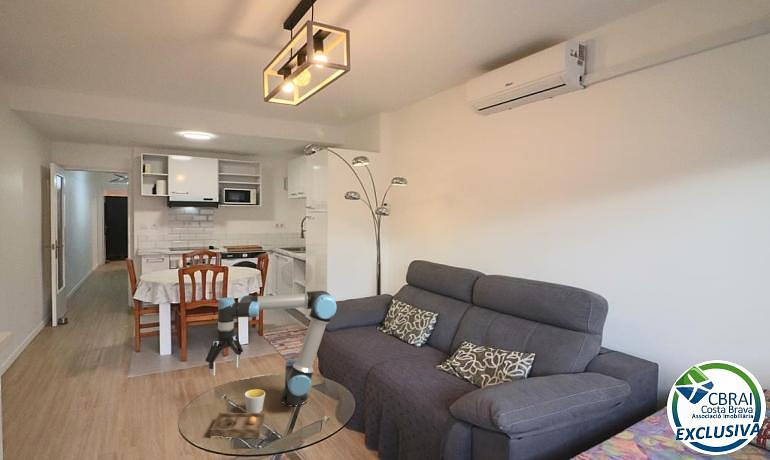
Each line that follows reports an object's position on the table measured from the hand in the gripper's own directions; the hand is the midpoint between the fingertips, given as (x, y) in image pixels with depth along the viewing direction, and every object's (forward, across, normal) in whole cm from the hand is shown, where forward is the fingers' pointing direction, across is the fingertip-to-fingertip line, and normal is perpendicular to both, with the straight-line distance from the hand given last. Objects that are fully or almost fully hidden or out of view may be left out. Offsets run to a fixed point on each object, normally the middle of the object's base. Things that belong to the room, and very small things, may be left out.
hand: (224, 370), depth 211 cm
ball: (+20, -2, +19) cm, 28 cm away
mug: (+25, -15, +7) cm, 30 cm away
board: (+24, +2, +14) cm, 28 cm away
